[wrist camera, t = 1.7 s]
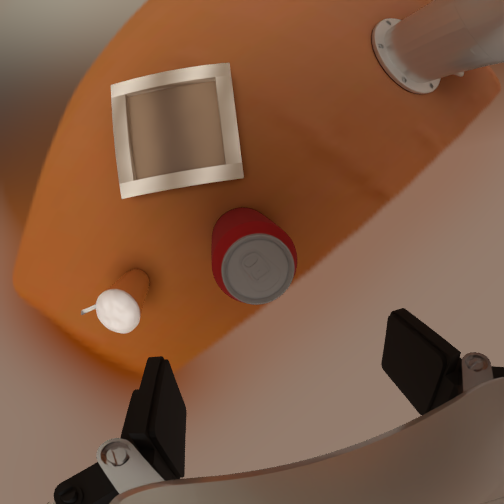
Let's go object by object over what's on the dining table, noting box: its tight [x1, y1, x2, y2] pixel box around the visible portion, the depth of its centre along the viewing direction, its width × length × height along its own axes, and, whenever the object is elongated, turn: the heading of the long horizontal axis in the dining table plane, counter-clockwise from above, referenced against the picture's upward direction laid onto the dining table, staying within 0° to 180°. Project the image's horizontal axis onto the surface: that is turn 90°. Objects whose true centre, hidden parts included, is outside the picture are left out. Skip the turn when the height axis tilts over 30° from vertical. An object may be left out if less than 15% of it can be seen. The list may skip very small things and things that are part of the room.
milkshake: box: [81, 269, 150, 333], centre depth 26 cm, size 4×5×10 cm
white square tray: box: [111, 63, 244, 199], centre depth 26 cm, size 12×12×4 cm
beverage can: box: [212, 208, 297, 305], centre depth 26 cm, size 7×7×12 cm
